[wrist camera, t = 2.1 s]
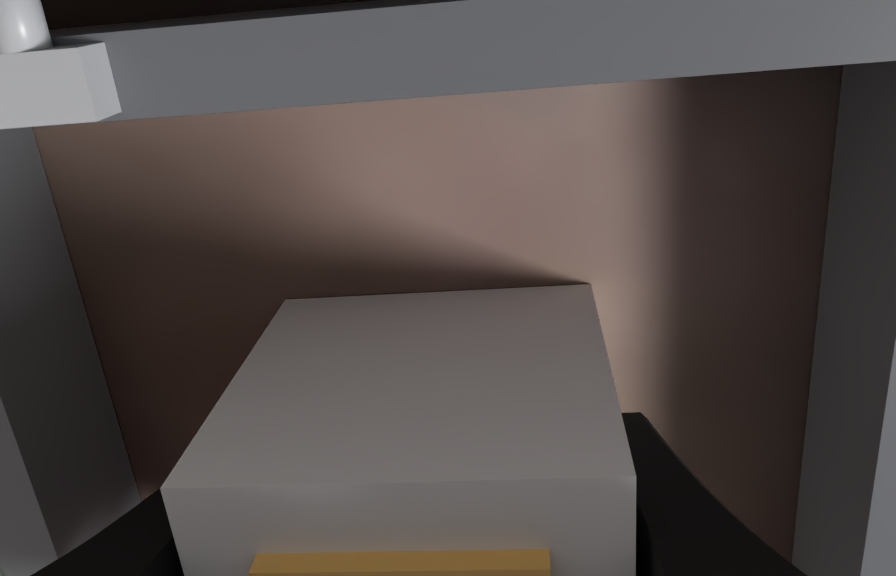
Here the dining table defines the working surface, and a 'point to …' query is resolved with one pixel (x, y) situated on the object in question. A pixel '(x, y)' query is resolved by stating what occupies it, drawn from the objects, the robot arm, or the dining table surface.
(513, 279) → the dining table surface
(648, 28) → the case
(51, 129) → the dining table surface
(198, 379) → the dining table surface
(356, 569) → the block
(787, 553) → the dining table surface
